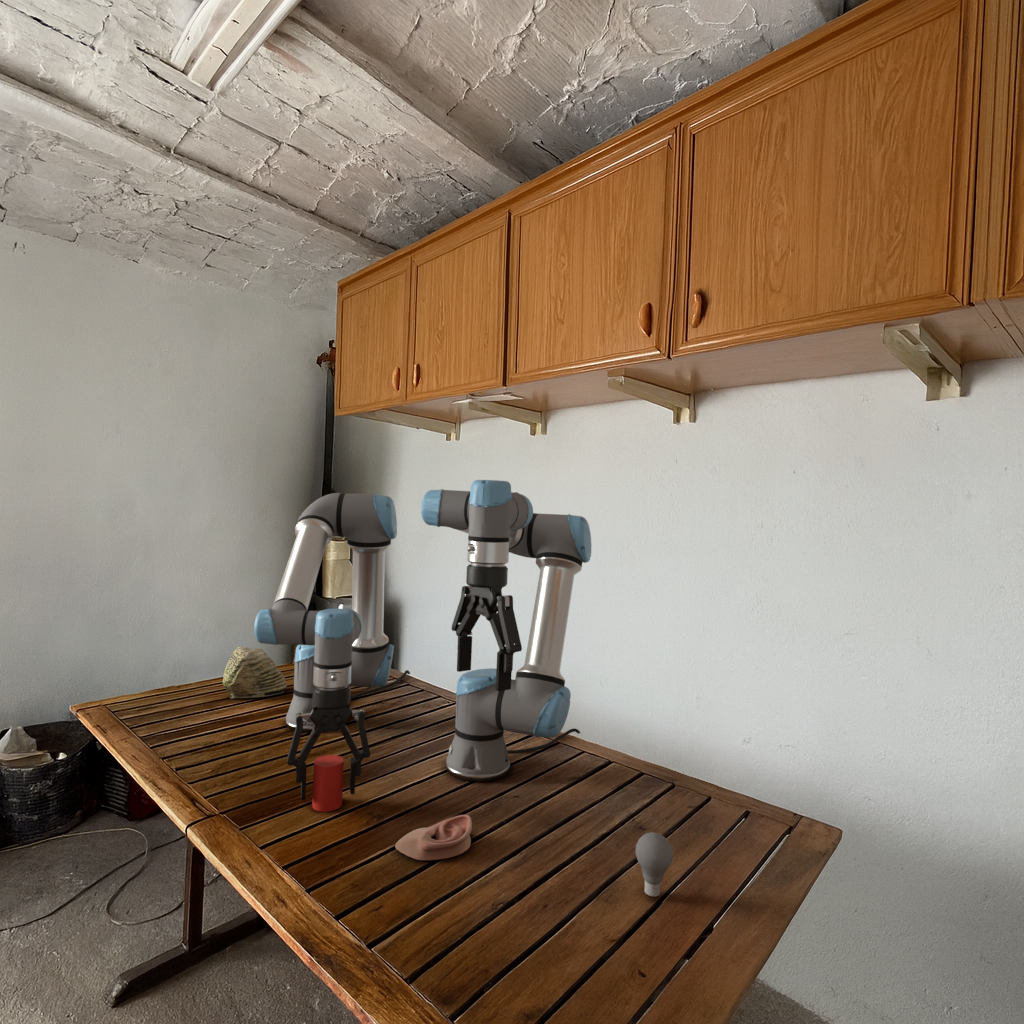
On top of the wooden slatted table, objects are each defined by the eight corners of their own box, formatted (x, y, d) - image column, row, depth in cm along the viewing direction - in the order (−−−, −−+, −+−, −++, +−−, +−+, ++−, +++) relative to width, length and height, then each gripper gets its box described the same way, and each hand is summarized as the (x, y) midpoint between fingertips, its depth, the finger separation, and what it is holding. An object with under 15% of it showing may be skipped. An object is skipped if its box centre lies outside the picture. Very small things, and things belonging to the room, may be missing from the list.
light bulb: (629, 883, 108) (632, 825, 107) (663, 883, 108) (666, 825, 108) (639, 906, 102) (642, 844, 101) (675, 905, 102) (678, 844, 102)
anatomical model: (389, 833, 113) (412, 803, 124) (388, 855, 113) (411, 823, 124) (460, 844, 110) (477, 813, 121) (459, 867, 110) (476, 833, 121)
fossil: (218, 695, 195) (220, 647, 195) (278, 685, 208) (279, 640, 207) (228, 703, 189) (230, 653, 188) (289, 692, 201) (290, 645, 201)
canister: (324, 795, 134) (325, 752, 134) (347, 801, 132) (349, 758, 132) (306, 808, 129) (307, 763, 129) (330, 814, 127) (332, 768, 127)
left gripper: (275, 694, 123) (271, 809, 123) (388, 687, 130) (383, 795, 131) (275, 683, 130) (271, 792, 130) (382, 677, 137) (378, 780, 138)
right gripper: (437, 557, 124) (432, 665, 124) (509, 573, 103) (503, 702, 104) (470, 557, 128) (465, 661, 129) (545, 571, 108) (539, 695, 108)
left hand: (327, 794), depth 131 cm, fingers open, 9 cm apart
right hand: (482, 679), depth 116 cm, fingers open, 13 cm apart
